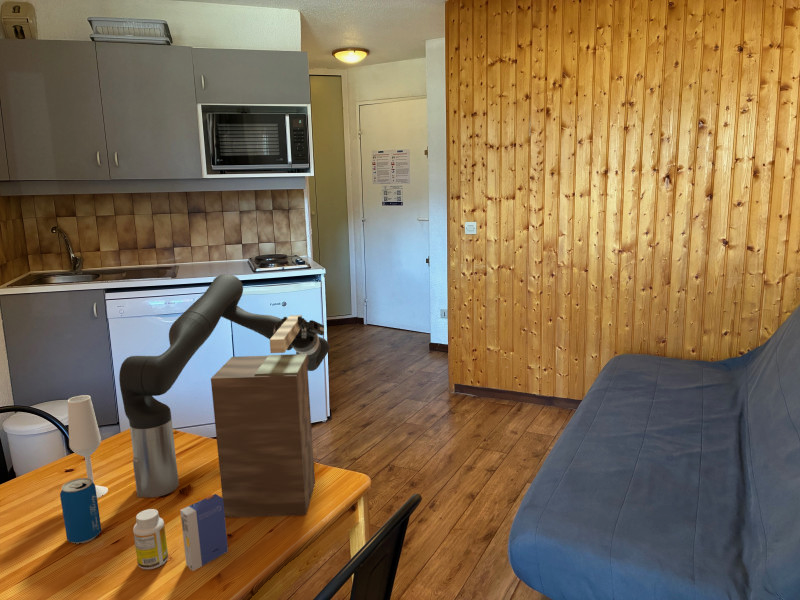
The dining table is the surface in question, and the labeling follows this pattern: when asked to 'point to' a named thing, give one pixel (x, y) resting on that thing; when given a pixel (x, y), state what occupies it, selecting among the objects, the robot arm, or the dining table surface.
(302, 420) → the walnut stand
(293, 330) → the pale wooden plank
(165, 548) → the supplement bottle
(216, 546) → the blue cardboard box
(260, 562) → the dining table surface
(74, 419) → the champagne flute
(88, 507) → the beverage can
